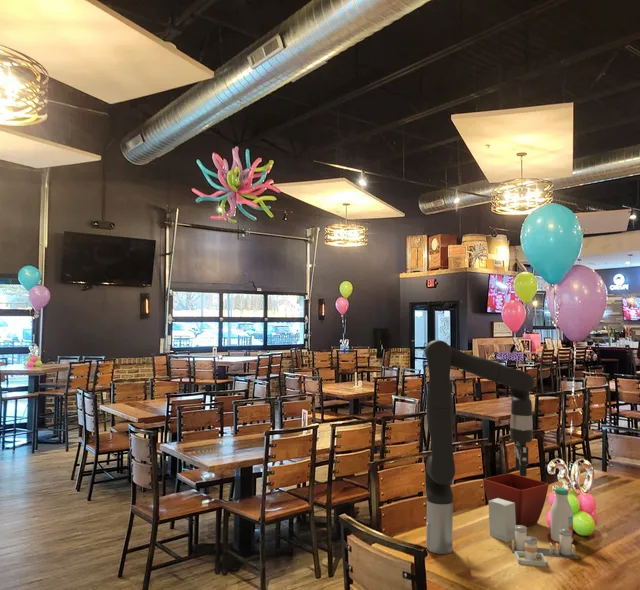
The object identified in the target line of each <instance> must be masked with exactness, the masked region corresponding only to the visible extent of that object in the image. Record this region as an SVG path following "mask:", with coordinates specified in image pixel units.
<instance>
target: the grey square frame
mask: <svg viewBox="0 0 640 590" xmlns="http://www.w3.org/2000/svg"><path fill="white" fill-rule="evenodd" d="M513 554H514V557H515V559H516V561H517V563H518V565H526V566H537V567H538V566H539V567H548V566H549V563H548V560H547V559H546V556H544V555H543V554H542V553H537V559H538V558H540V559H541V560H537V561H535V560H524V559H522V558H521V559H520V557H525V552H522V551H514V553H513Z"/></svg>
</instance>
